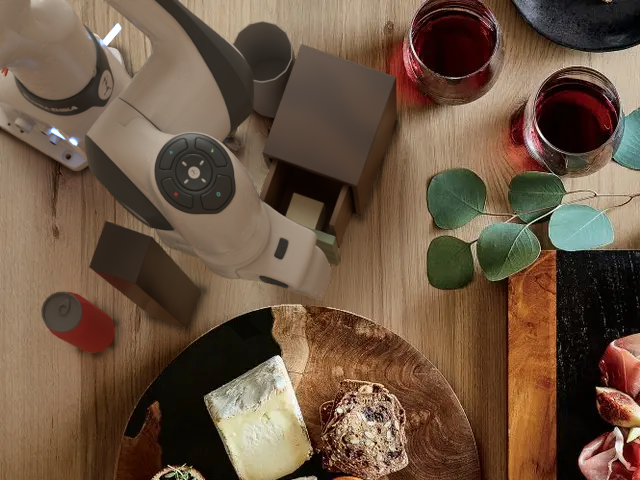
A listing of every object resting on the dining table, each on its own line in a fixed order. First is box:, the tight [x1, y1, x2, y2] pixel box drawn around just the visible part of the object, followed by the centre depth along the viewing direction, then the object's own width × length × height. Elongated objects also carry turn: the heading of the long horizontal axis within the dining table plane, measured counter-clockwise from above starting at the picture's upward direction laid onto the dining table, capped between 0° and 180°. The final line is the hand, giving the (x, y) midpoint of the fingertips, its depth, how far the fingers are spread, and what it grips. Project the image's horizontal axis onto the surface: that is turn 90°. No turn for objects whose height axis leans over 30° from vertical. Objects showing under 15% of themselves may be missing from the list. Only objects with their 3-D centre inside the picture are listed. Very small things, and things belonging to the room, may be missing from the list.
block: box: [285, 193, 327, 232], centre depth 118 cm, size 4×4×4 cm
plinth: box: [88, 220, 202, 330], centre depth 110 cm, size 6×6×24 cm
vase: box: [222, 117, 250, 153], centre depth 119 cm, size 5×5×6 cm
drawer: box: [259, 159, 355, 267], centre depth 116 cm, size 19×12×10 cm, turn 160°
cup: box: [232, 20, 296, 119], centre depth 117 cm, size 8×8×10 cm
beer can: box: [40, 290, 116, 354], centre depth 116 cm, size 7×7×12 cm
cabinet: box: [262, 43, 398, 218], centre depth 116 cm, size 16×14×12 cm
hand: (256, 272), depth 102 cm, fingers closed
